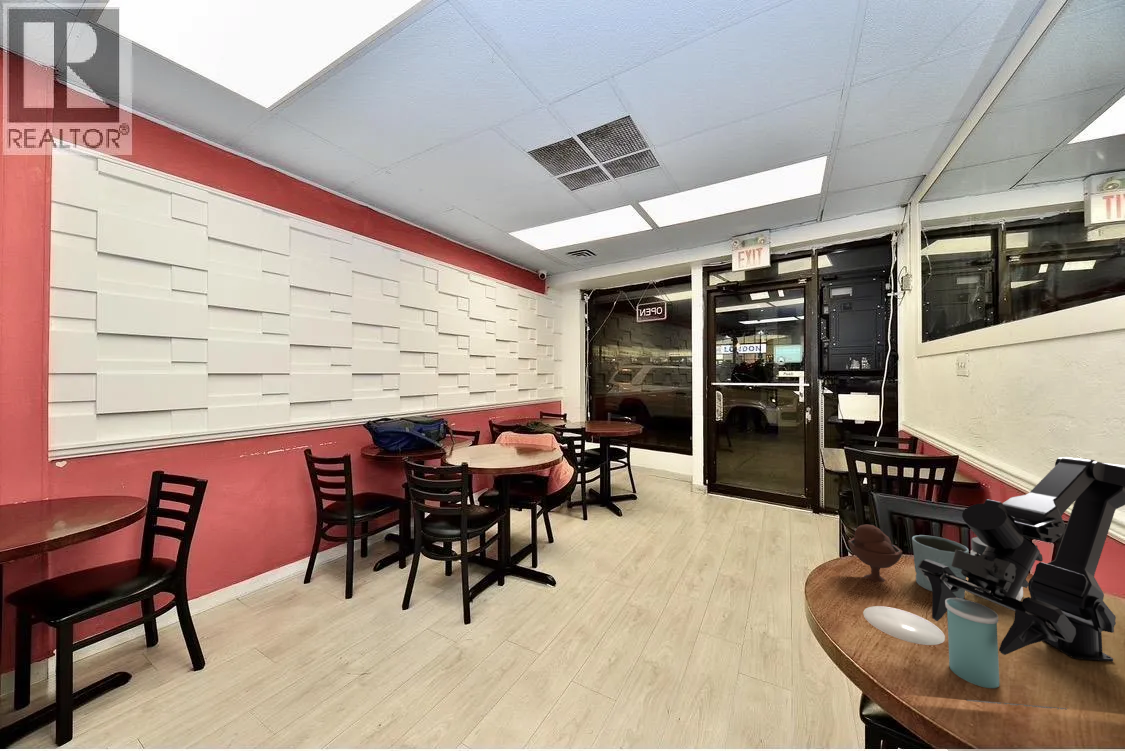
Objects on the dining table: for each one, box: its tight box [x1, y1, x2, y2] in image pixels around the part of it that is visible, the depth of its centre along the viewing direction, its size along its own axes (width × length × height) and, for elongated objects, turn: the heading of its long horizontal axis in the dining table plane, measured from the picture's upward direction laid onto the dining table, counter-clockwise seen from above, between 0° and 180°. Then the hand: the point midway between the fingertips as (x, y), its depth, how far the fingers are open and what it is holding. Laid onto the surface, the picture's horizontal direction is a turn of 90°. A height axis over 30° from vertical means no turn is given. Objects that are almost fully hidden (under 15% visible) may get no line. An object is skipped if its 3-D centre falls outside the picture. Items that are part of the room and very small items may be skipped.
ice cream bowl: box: [847, 524, 903, 583], centre depth 100 cm, size 11×11×15 cm
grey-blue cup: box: [911, 534, 970, 599], centre depth 95 cm, size 10×10×12 cm
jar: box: [970, 536, 1024, 602], centre depth 94 cm, size 9×8×12 cm
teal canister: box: [945, 597, 1000, 689], centre depth 67 cm, size 6×6×12 cm
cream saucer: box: [862, 605, 946, 646], centre depth 81 cm, size 13×13×1 cm
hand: (965, 635), depth 67 cm, fingers open, 9 cm apart
